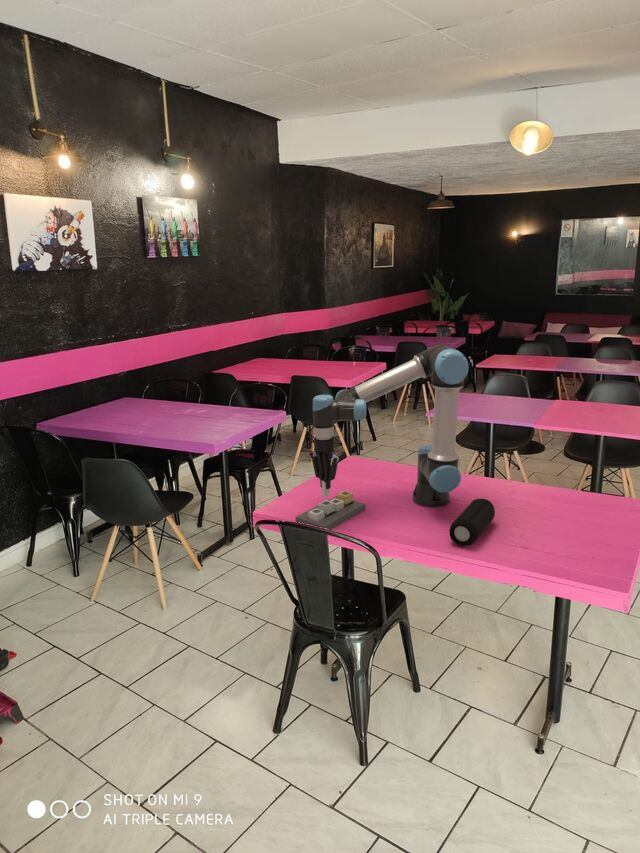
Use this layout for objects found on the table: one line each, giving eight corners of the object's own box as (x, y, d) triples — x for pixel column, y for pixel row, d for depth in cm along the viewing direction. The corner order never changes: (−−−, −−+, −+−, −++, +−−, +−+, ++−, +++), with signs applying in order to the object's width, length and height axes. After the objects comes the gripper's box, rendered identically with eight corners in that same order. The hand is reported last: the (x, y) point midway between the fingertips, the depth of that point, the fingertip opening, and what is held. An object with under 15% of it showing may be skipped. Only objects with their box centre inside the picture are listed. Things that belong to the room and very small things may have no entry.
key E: (324, 519, 236) (324, 510, 235) (317, 523, 233) (317, 514, 232) (315, 516, 239) (315, 507, 238) (308, 520, 236) (308, 511, 235)
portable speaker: (470, 518, 240) (471, 494, 237) (496, 523, 235) (497, 499, 232) (446, 545, 219) (447, 519, 216) (474, 551, 214) (475, 525, 211)
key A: (334, 510, 240) (334, 502, 239) (327, 514, 237) (327, 506, 236) (325, 507, 243) (325, 499, 242) (318, 511, 240) (318, 503, 239)
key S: (353, 500, 249) (352, 492, 248) (346, 504, 246) (346, 496, 245) (344, 498, 252) (344, 490, 251) (337, 501, 249) (337, 493, 248)
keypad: (365, 509, 249) (365, 503, 248) (324, 532, 229) (324, 526, 229) (337, 501, 257) (337, 495, 256) (295, 522, 238) (295, 516, 237)
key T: (343, 508, 245) (343, 500, 244) (337, 512, 242) (336, 504, 241) (335, 506, 248) (335, 498, 247) (328, 509, 245) (328, 501, 244)
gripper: (344, 437, 230) (345, 496, 236) (316, 431, 237) (318, 489, 244) (331, 442, 224) (333, 503, 231) (303, 436, 232) (306, 495, 238)
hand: (325, 496), depth 237 cm, fingers closed
